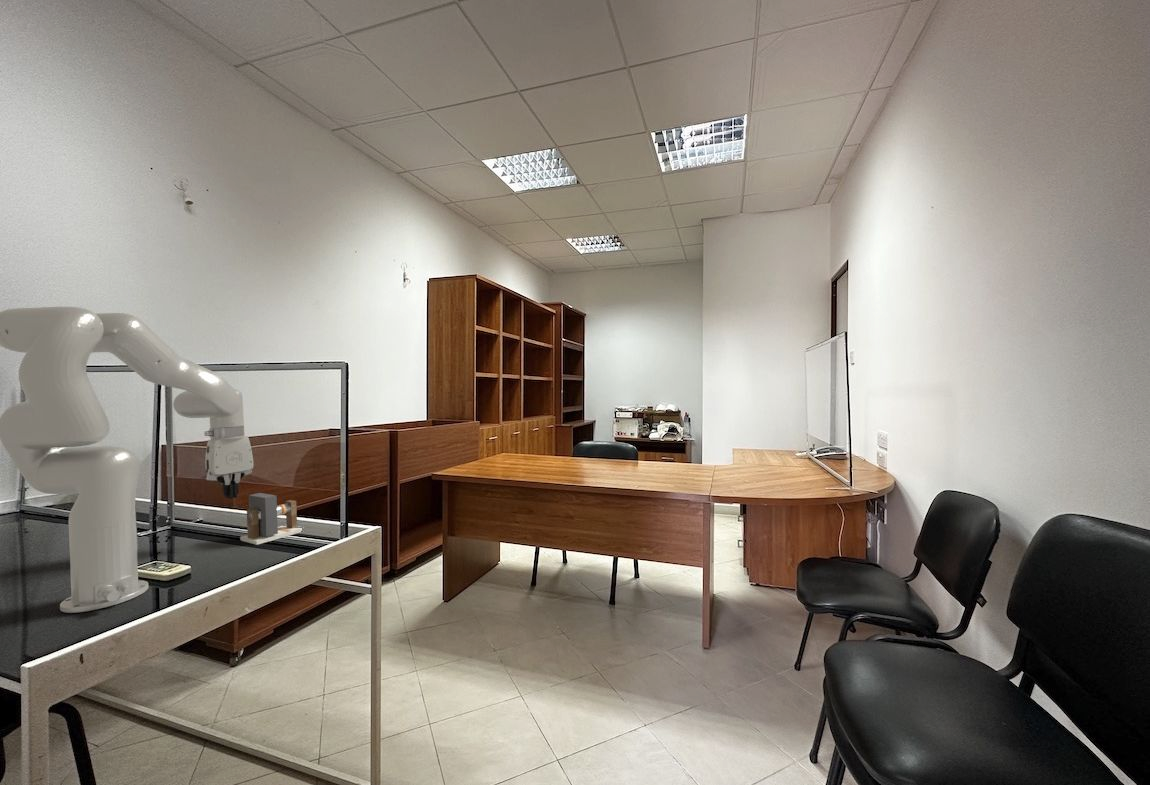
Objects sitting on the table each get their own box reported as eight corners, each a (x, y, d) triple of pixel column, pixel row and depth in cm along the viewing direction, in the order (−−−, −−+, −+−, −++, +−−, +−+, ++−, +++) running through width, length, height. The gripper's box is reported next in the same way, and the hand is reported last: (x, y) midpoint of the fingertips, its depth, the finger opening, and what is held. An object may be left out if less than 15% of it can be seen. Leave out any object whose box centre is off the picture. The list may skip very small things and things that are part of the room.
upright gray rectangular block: (277, 533, 128) (276, 495, 128) (266, 536, 125) (265, 497, 125) (261, 529, 132) (260, 492, 132) (250, 532, 130) (248, 495, 130)
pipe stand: (304, 531, 134) (303, 501, 134) (256, 544, 123) (255, 512, 123) (288, 527, 139) (287, 498, 139) (240, 540, 127) (239, 509, 127)
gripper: (201, 437, 117) (205, 506, 117) (263, 430, 130) (267, 492, 130) (188, 436, 120) (192, 503, 121) (250, 429, 133) (253, 490, 134)
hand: (231, 497), depth 126 cm, fingers closed
